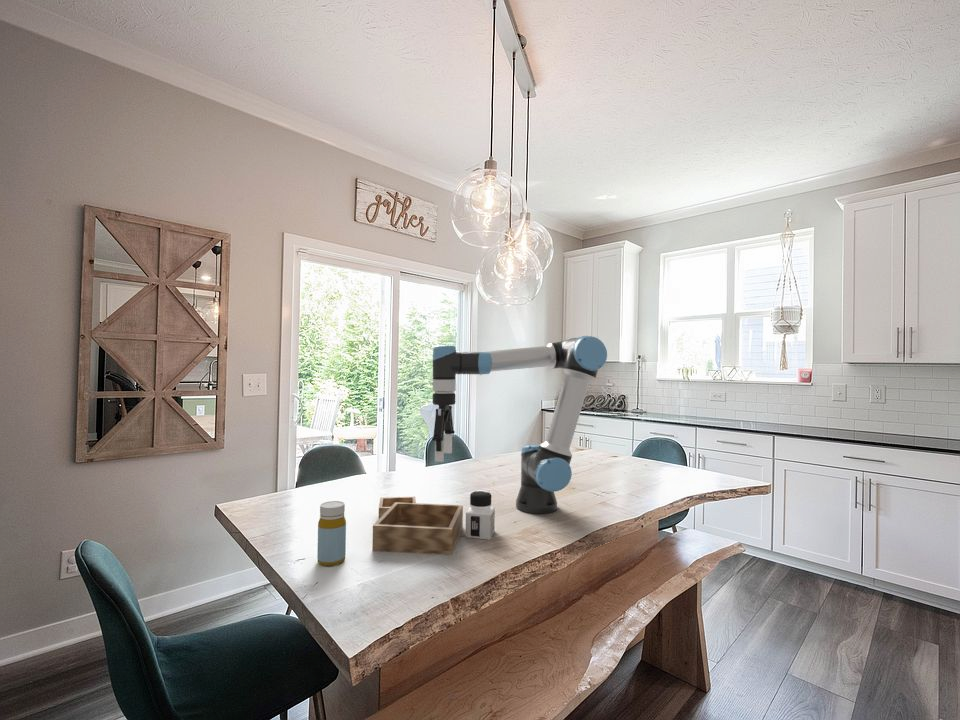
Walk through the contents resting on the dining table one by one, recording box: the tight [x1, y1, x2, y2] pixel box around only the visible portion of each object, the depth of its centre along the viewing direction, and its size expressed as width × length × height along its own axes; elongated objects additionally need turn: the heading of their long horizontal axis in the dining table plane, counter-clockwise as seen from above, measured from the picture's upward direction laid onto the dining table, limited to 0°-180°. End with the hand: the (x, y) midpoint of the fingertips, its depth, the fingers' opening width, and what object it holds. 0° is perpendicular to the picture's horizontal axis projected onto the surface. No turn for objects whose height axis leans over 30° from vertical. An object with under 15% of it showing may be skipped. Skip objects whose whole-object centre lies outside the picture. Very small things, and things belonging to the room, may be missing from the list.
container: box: [465, 490, 496, 540], centre depth 144 cm, size 8×8×13 cm
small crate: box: [377, 496, 417, 522], centre depth 156 cm, size 12×12×6 cm
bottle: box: [316, 500, 347, 567], centre depth 122 cm, size 7×7×15 cm
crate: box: [371, 502, 464, 556], centre depth 140 cm, size 22×22×7 cm
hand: (443, 457), depth 152 cm, fingers open, 13 cm apart
